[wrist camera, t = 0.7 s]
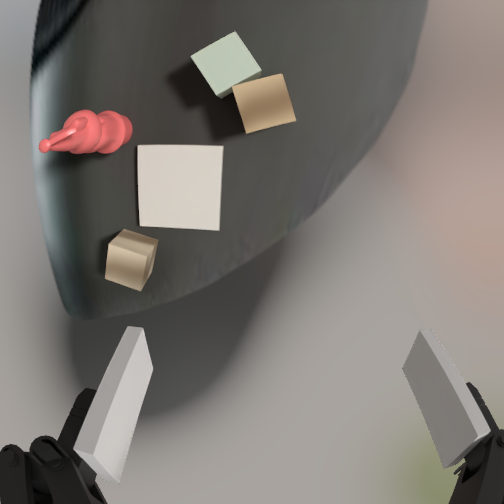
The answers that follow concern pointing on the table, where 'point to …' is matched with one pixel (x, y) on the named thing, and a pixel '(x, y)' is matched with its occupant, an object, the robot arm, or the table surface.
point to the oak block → (264, 103)
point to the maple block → (130, 259)
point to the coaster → (180, 185)
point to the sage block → (226, 64)
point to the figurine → (90, 133)
